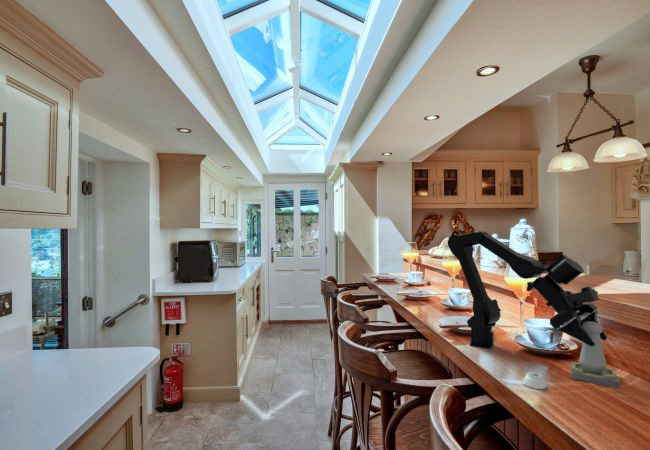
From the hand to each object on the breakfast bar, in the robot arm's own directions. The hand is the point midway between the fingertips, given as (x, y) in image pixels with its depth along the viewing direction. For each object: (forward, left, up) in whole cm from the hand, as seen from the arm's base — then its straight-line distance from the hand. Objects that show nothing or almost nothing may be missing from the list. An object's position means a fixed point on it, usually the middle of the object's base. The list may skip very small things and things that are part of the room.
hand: (599, 342), depth 95 cm
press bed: (-1, 0, -10) cm, 10 cm away
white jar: (-14, -15, -10) cm, 23 cm away
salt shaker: (-2, 0, -8) cm, 8 cm away
